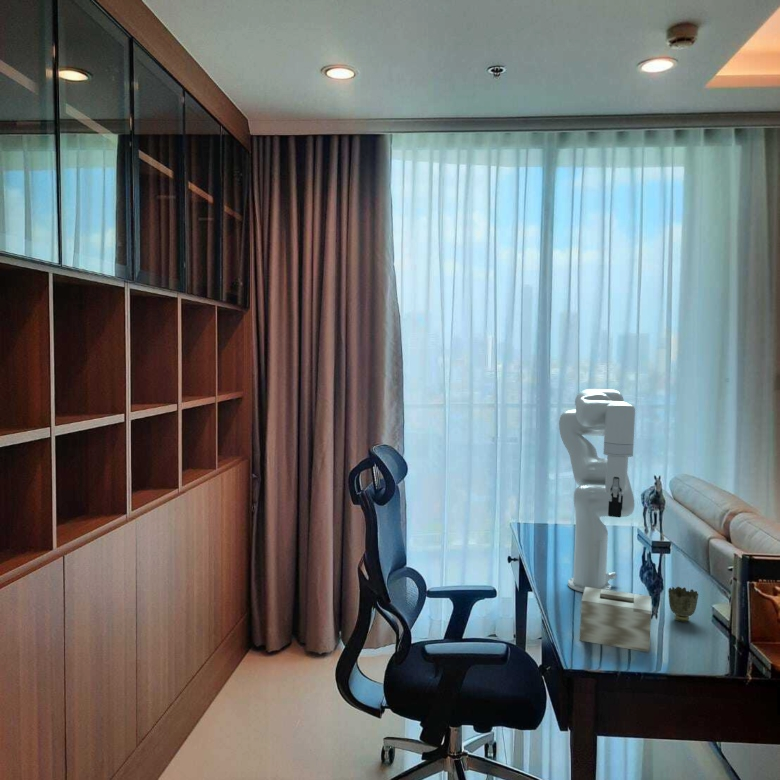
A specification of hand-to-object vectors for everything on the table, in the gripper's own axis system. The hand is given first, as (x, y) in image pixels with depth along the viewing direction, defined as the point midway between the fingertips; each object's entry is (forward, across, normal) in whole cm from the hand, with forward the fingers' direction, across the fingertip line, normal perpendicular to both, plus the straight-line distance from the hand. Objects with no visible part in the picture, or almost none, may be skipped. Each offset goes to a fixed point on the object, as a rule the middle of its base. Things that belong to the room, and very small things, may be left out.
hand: (615, 512), depth 182 cm
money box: (+28, +15, +2) cm, 32 cm away
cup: (+28, -6, +18) cm, 34 cm away
